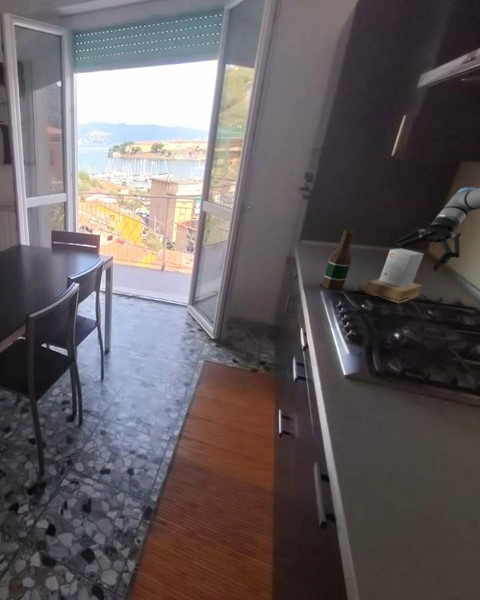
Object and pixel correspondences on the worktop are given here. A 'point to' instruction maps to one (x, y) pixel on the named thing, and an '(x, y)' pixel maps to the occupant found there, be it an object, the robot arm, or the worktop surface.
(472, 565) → the worktop surface
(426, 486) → the worktop surface
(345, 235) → the beer bottle
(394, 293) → the birch block
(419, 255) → the small box
